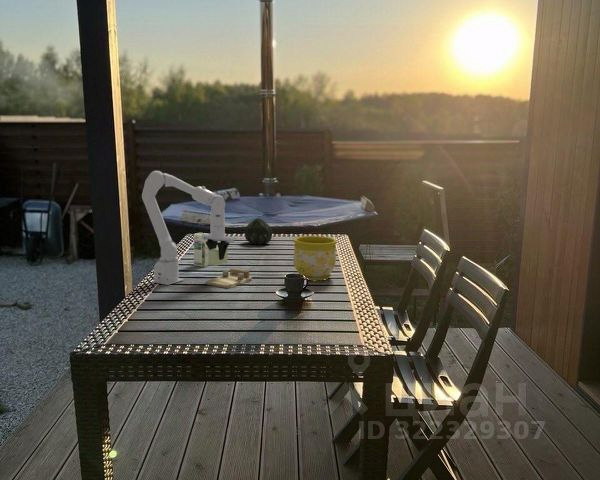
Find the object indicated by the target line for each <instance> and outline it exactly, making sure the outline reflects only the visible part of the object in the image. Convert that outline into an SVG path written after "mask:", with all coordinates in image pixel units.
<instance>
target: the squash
mask: <svg viewBox="0 0 600 480" xmlns="http://www.w3.org/2000/svg"><path fill="white" fill-rule="evenodd" d="M244 237H245V240H246V241H247V242H249V243H250V244H252V245H255V246H256V245H258V246H260V245H266V244H268V243H269V242H270V241H271V240H272V238H273V230H272V228H271V226H270V224H269V223H267V222H266V221H264V220H263V219H261V218H256V219H253V220H252V221H251V222H249V223H247V226H246V227H245V229H244Z"/></svg>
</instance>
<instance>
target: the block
mask: <svg viewBox="0 0 600 480" xmlns="http://www.w3.org/2000/svg"><path fill="white" fill-rule="evenodd" d="M227 263H228V248H227V249H226V252H225V256H224V259H222V260H219V249H218V247H216V248H215V249H211V250H208V265H209V266H213V267H216V266H219V265H223V264H227Z"/></svg>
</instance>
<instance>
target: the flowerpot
mask: <svg viewBox="0 0 600 480" xmlns="http://www.w3.org/2000/svg"><path fill="white" fill-rule="evenodd" d="M293 243H294V245H293V246H294V249H293V250H294V251H293V265H294V268H295V270H296V272H297V273H299V274H302V275H304V276H305V277H306V278H308V279H309V280H324V279H328V278H329V279H330V278H331V276H332V274H331V273H332V272H333V270H334V268H335V266H336V263H337V253H336V248H337V247H336V246H337V245H336V244H338V241H337V240H336V239H335V238H332V237H328V236H322V235H321V236H319V235H317V236H316V235H305V236H298V237H297V236H296V237H295V238H294V239H293ZM329 279H328V280H329Z"/></svg>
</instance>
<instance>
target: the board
mask: <svg viewBox="0 0 600 480" xmlns="http://www.w3.org/2000/svg"><path fill="white" fill-rule="evenodd" d="M252 280H253V277H252V276H250V271H249V270H243V269H237V268H229V270H222V275H221V276H218V277H216V278H215V277H214V278H213V279H208V280H206V281H205V285H208V286H214V287H218V288H225V289H231V288H233V287H236V286H239V285H242V284H245V283H247V282H252Z"/></svg>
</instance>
